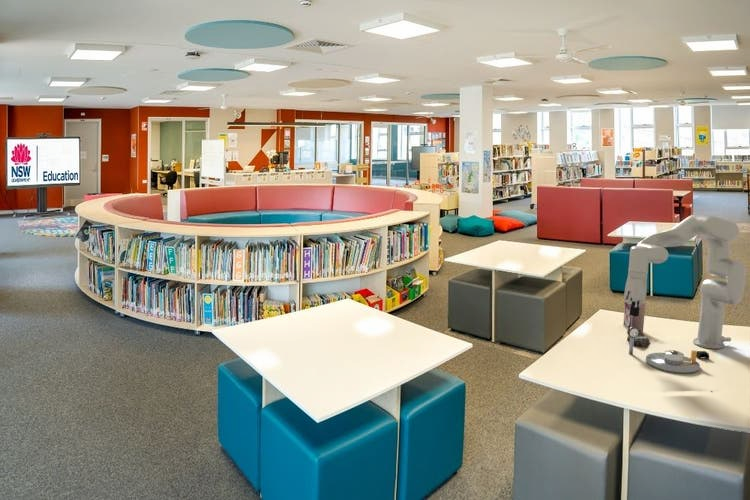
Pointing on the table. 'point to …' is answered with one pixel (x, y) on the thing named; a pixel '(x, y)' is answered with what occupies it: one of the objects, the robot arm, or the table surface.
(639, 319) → the greeting card
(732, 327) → the table surface
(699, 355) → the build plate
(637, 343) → the fossil
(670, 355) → the cover
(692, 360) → the platter
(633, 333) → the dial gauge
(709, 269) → the robot arm
